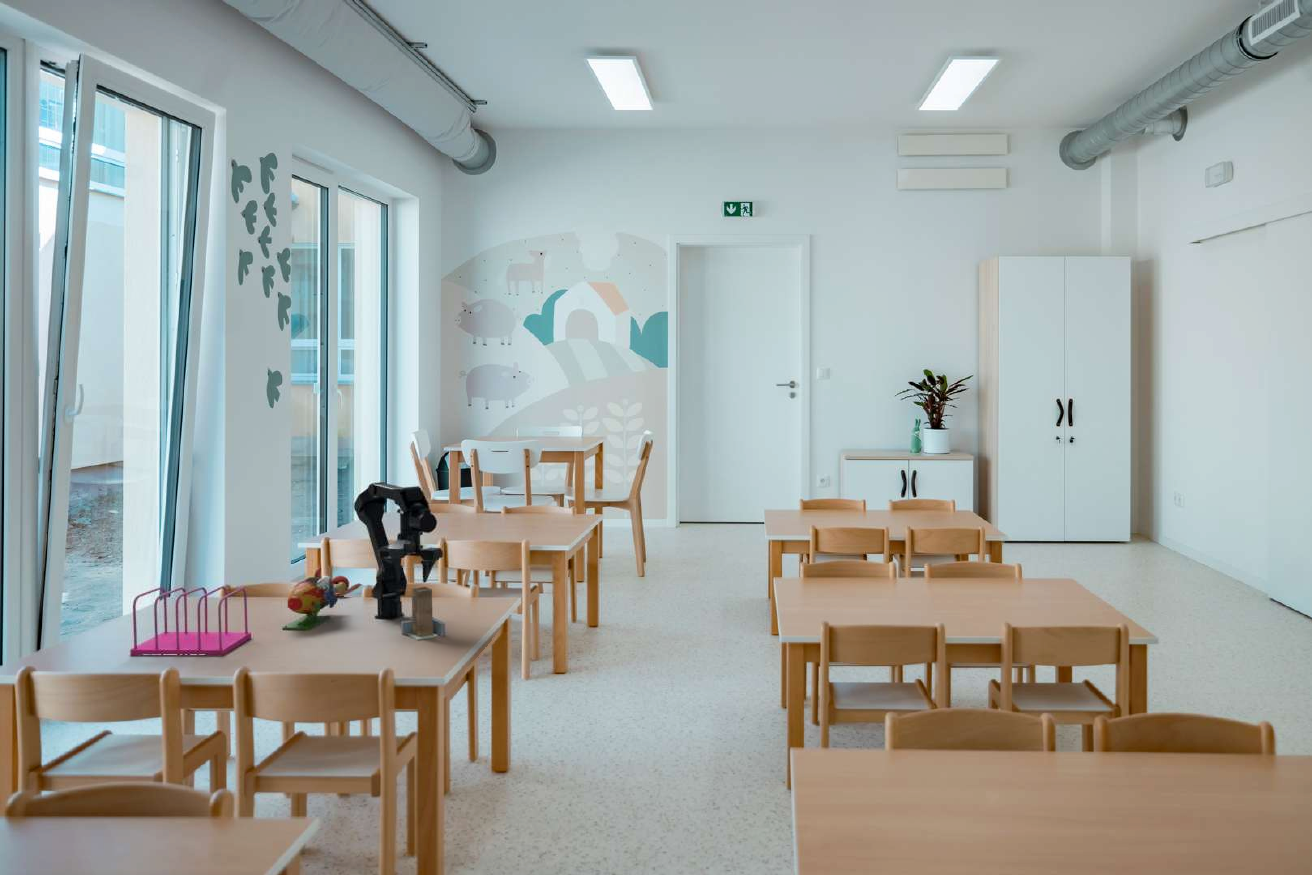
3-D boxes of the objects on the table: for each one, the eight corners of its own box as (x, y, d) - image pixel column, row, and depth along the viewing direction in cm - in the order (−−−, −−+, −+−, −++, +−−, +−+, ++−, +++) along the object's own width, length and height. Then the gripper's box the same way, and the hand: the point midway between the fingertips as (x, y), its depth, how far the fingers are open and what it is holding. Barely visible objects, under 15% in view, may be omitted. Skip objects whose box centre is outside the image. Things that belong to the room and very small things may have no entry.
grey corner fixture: (401, 633, 277) (401, 621, 277) (433, 628, 283) (433, 616, 282) (413, 640, 270) (412, 628, 270) (445, 635, 275) (445, 623, 275)
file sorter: (164, 638, 274) (162, 583, 273) (251, 638, 273) (250, 583, 272) (129, 655, 257) (127, 597, 256) (223, 656, 256) (221, 597, 255)
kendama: (329, 607, 315) (357, 588, 332) (324, 589, 314) (352, 570, 331) (308, 610, 316) (337, 591, 334) (303, 592, 315) (332, 573, 333)
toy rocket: (268, 633, 278) (267, 580, 277) (308, 612, 303) (307, 563, 302) (315, 634, 277) (314, 581, 276) (352, 613, 302) (351, 564, 301)
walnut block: (412, 633, 276) (411, 588, 275) (426, 631, 278) (424, 586, 278) (419, 637, 272) (418, 591, 271) (432, 634, 274) (431, 589, 274)
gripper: (366, 531, 281) (368, 584, 282) (422, 534, 275) (423, 589, 276) (389, 526, 292) (390, 577, 293) (443, 529, 286) (444, 581, 287)
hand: (411, 581), depth 287 cm, fingers open, 9 cm apart
